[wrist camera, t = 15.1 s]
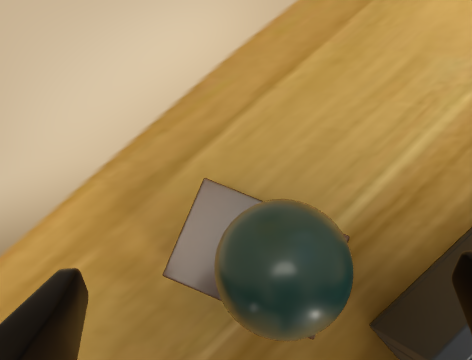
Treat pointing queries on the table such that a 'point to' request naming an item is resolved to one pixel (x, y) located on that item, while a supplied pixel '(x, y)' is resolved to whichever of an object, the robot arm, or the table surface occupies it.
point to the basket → (429, 315)
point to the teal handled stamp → (264, 261)
